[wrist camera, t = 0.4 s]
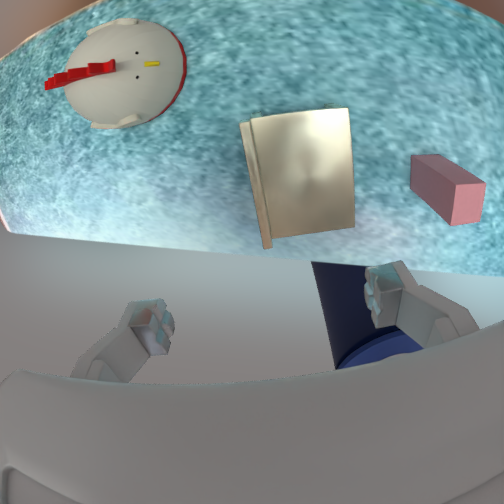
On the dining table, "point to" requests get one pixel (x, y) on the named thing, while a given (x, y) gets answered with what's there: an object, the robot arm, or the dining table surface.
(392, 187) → the dining table surface
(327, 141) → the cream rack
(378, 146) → the dining table surface
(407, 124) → the dining table surface
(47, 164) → the dining table surface
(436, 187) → the pink carton
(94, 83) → the kitchen timer
